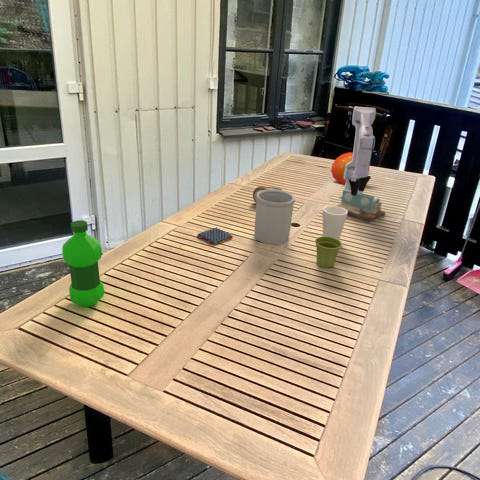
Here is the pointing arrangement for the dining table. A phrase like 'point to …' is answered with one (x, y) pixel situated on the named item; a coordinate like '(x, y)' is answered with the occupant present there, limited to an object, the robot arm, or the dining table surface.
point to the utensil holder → (273, 216)
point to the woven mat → (214, 236)
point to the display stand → (364, 212)
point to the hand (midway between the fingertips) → (357, 193)
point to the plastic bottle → (83, 265)
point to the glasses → (359, 200)
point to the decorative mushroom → (341, 167)
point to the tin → (261, 190)
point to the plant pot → (327, 250)
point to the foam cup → (333, 221)
